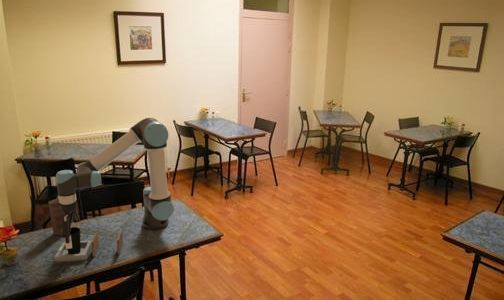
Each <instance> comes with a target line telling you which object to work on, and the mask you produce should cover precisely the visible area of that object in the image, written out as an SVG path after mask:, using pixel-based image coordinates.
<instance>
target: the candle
mask: <svg viewBox="0 0 504 300" xmlns="http://www.w3.org/2000/svg"><path fill="white" fill-rule="evenodd" d="M59 204H60V203H59V198H58V197H56V198H55V199H52V200H50V201H48V208H49V215H50V221H51V227H52V232H53V234H54V235H61V236H62V234H63V219H62V218H63V217H64V214H65V213H64V212H62V211H61V210H60V205H59Z"/></svg>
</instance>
